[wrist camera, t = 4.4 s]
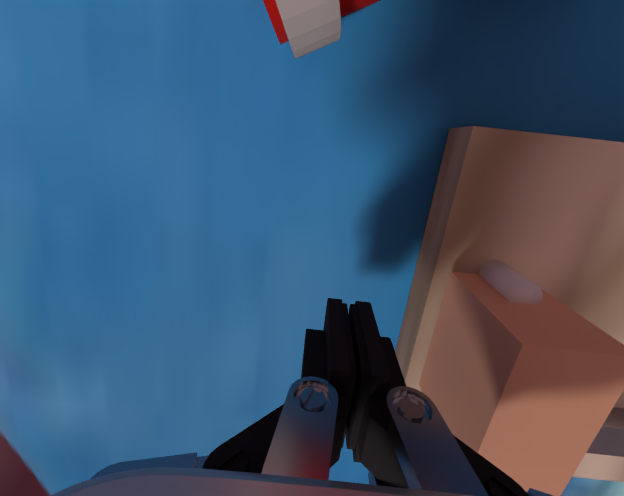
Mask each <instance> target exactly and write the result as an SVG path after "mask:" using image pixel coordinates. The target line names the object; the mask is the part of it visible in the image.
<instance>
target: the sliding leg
mask: <svg viewBox="0 0 624 496" xmlns="http://www.w3.org/2000/svg"><path fill="white" fill-rule="evenodd" d="M419 386H420V388H421V391H422V393H424V394H425V395H426V396H428V397H429V398H430V399H431V400H432V402H433V403H434V404H435V405H436V407H437V409H438V411H439V412H440V414H441V416H442V417H443V419H444V421H445V422H446V424H447V426H448V428H449V429H450V431H451V433H452V434H453V435H454V436H455V437H457V438H458V439H459V440H461V441H462V442H464V443H465V444H466V445H468V446H469V447H470V448H472V449H473V450H474V451H476V452H477V453H478V454H480V455H481V456H482V457H484V458H485V459H487V460H488V461H489V462H491V463H492V464H493V465H495V466H496V467H497V468H499V469H500V470H501V471H503V472H504V473H506V474H507V475H508V476H510V477H511V478H512V479H513V480H514V481H516V482H517V483H518V484H519V485H520V486H521V487H522V488H523V489H524V490H525V491H526V492H528V490H529V488H532V489H535V490H538V491H541V492H544V493H547V494H550V495H553V496H561V494H562V493H563V491H564V489H565V488H566V486H567V484H568V482H569V481H570V479H571V477H572V476H573V474H574V472H575V471H576V469H577V467H578V466H579V464H580V462H581V461H582V459H583V457H584V456H585V454H586V452H587V451H588V449H589V447H590V446H591V444H592V442H593V440H594V439H595V437H596V435H597V434H598V432H599V430H600V429H601V427H602V425H603V424H604V422H605V420H606V419H607V417H608V415H609V414H610V412H611V410H612V409H613V407H614V405H615V403H616V402H617V400H618V398H619V397H620V395H621V393H622V392H623V390H624V345H623V344H622V343H620V342H619V341H617V340H616V339H614V338H613V337H612V336H610V335H609V334H607V333H606V332H604V331H603V330H601V329H600V328H598V327H597V326H595V325H594V324H592V323H591V322H590V321H588V320H587V319H585V318H584V317H582V316H581V315H579V314H578V313H576V312H575V311H573V310H572V309H570V308H569V307H568V306H566V305H565V304H563V303H562V302H560V301H559V300H557V299H556V298H554V297H553V296H551V295H550V294H548V293H547V292H546V291H544V290H543V289H541V288H540V287H539V286H537V285H536V284H534V283H533V282H531V281H530V280H528V279H527V278H525V277H524V276H522V275H521V274H519V273H518V272H516V271H515V270H514V269H512V268H511V267H509V266H508V265H506V264H505V263H503V262H502V261H500V260H491V261H488V262H486V263H485V264H484V265H483V266H482V267H481V269H480V271H479V274H471V273H461V272H452V271H451V274H450V277H449V281H448V284H447V288H446V291H445V295H444V298H443V302H442V305H441V309H440V312H439V316H438V319H437V323H436V326H435V329H434V333H433V336H432V340H431V343H430V347H429V350H428V354H427V357H426V361H425V364H424V368H423V371H422V375H421V378H420V382H419Z"/></svg>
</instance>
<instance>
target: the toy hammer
mask: <svg viewBox="0 0 624 496" xmlns="http://www.w3.org/2000/svg"><path fill="white" fill-rule="evenodd" d="M263 1H264V4H265V6H266V9H267V12H268V14H269V17H270V19H271V22H272V25H273V27H274V30H275V32H276V35H277V37H278V39H279V42H280V43H281V44H283V43H285V42H287V41H289V42H290V45H291V48H292V51H293V54H294V57H295V59H296V58H299V57H301V56H303V55H305V54H308V53H310V52H312V51H315V50H317V49H319V48H322V47H324V46H326V45H329V44H331V43H333V42H336V41H338V40H339V39H340V34H341V18H342V17H344V16H346V15H348V14H351V13H353V12H355V11H357V10H360V9H362V8H364V7H366V6H369V5H371V4H373V3H376V2H378V1H380V0H263Z"/></svg>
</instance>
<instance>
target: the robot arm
mask: <svg viewBox="0 0 624 496" xmlns="http://www.w3.org/2000/svg"><path fill="white" fill-rule="evenodd" d="M345 433H346V444H347V449H353V459H354V462H361V463H362V464H363V465H364V466H365V467H366V468H367V469H368V470H369V473H368V478H369V484H370V485H369V484H360V483H350V482H341V481H331V480H328V478H329V470H330V468H331V467H332V466H333V465H334V464H335V463H336V462H337V461H338V460H339V457H340V452H341V448H343V443H344V438H345ZM51 496H553V495H550V494H547V493H544V492H541V491H538V490H535V489H532V488H529V490H528V492H526V491H525V490H524V489H523V488H522V487H521V486H520V485H519V484H518V483H517V482H516V481H514V480H513V479H512V478H511V477H510V476H508V475H507V474H506V473H504V472H503V471H501V470H500V469H499V468H497V467H496V466H495V465H493V464H492V463H491V462H489V461H488V460H487V459H485V458H484V457H482V456H481V455H480V454H478V453H477V452H476V451H474V450H473V449H472V448H470V447H469V446H468V445H466V444H465V443H464V442H462V441H461V440H459V439H458V438H457V437H455V436H454V435H453V434H452V433H451V431H450V429H449V428H448V426H447V424H446V422H445V421H444V419H443V417H442V416H441V414H440V412H439V411H438V409H437V407H436V405H435V404H434V403H433V402H432V400H431V399H430V398H429V397H428V396H426V395H425V394H424V393H422V392H421V391H419V390H417V389H414V388H411V387H407V386H406V383H405V380H404V377H403V374H402V371H401V368H400V365H399V362H398V359H397V356H396V354H395V351H394V348H393V345H392V342H391V339H390V338H388V337H380V334H379V331H378V327H377V324H376V320H375V317H374V314H373V310H372V307H371V303H370V302H360V301H356V302H355V304H350V308H349V314H348V309H347V304H345V303H342V300H341V299H332V298H328V300H327V307H326V315H325V322H324V330H323V331H322V330H313V329H306V335H305V344H304V354H303V363H302V374H301V379H298V380H296V381H295V382H294V383H293V384H292V385H291V387H290V389H289V391H288V394H287V397H286V400H285V403H284V404H283V405H282V406H280V407H279V408H277V409H276V410H274V411H272V412H271V413H269V414H268V415H266V416H265V417H263V418H262V419H260V420H259V421H257V422H256V423H254V424H252V425H251V426H249V427H248V428H246V429H245V430H243V431H242V432H240V433H239V434H237V435H236V436H234V437H232V438H231V439H229V440H228V441H226V442H225V443H223V444H222V445H220V446H219V447H217V448H216V449H215V450H214V451H213V452H211V453H210V455H209V456H201V457H197V453H189V454H181V455H173V456H165V457H157V458H149V459H141V460H134V461H126V462H119V463H116V464H112V465H109V466H107V467H106V468H104V469H102V470H100V471H99V472H97V473H96V474H95V475H94V476H93V477H92V478H91V479H90V480H86V481H83V482H81V483H78V484H75V485H73V486H70V487H68V488H66V489H64V490H61V491H59V492H57V493H55V494H53V495H51Z"/></svg>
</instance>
